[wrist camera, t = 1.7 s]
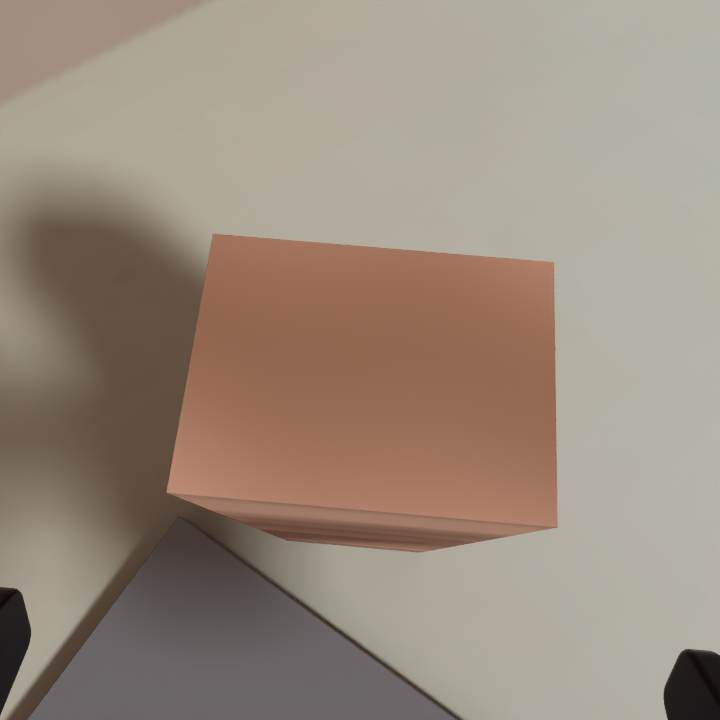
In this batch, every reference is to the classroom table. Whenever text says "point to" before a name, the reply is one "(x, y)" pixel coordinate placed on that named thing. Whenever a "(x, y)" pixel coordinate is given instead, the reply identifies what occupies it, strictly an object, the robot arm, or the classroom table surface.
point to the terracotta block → (371, 395)
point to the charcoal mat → (222, 651)
